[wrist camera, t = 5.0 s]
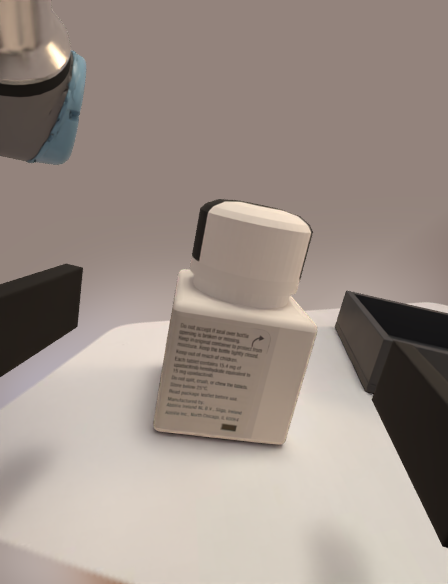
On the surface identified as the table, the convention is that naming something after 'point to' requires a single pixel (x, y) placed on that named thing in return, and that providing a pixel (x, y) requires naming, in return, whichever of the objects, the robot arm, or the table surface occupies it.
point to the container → (238, 327)
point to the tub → (389, 334)
